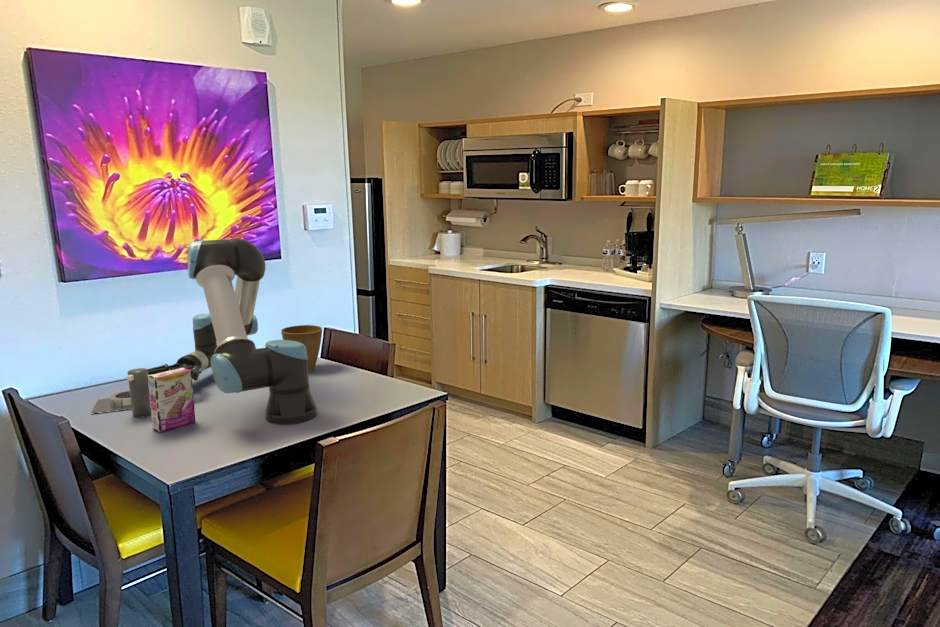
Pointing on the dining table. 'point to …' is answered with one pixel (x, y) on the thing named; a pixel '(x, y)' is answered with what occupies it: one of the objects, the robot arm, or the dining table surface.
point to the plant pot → (305, 340)
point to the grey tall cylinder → (139, 392)
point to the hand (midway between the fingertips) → (154, 382)
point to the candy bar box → (171, 399)
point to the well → (114, 402)
